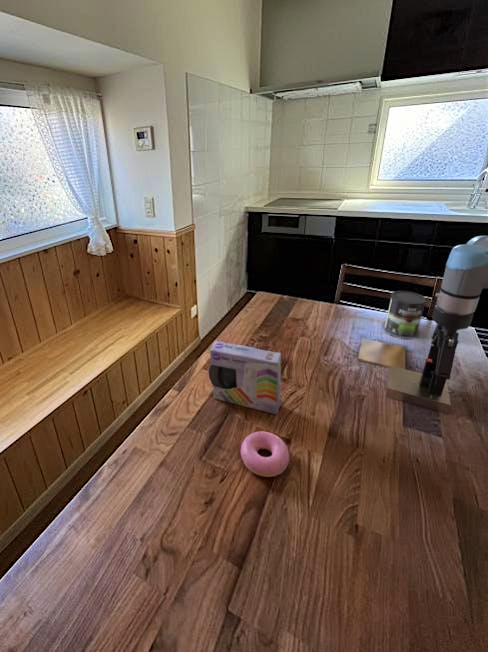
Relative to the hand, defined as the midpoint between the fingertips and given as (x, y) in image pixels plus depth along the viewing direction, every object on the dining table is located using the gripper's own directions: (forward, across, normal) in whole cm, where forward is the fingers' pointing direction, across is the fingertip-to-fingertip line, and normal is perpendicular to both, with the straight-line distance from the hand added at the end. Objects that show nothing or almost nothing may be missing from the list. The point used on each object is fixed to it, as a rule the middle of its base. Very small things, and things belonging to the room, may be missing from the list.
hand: (432, 379), depth 90 cm
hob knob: (+2, 0, 0) cm, 2 cm away
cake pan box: (+6, +25, -44) cm, 51 cm away
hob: (+5, 0, -3) cm, 6 cm away
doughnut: (+6, +40, -33) cm, 52 cm away
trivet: (+5, -15, -12) cm, 20 cm away
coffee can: (+6, -33, -7) cm, 34 cm away
